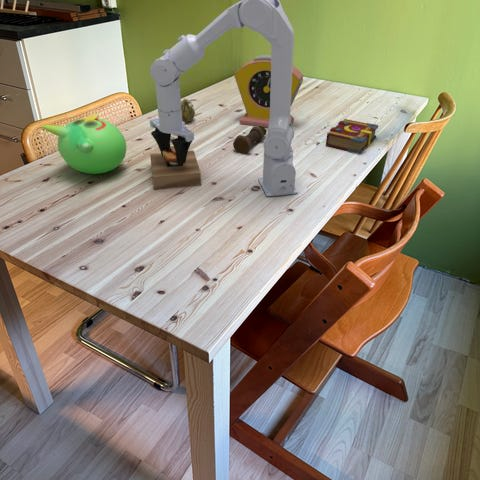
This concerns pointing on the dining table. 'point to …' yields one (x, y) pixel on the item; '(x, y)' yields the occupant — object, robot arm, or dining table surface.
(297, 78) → the yellow mantel clock
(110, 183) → the dining table surface
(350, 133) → the decorative book
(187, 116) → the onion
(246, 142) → the bolt
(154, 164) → the block
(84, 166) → the toy bird
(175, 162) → the orange short cylinder
